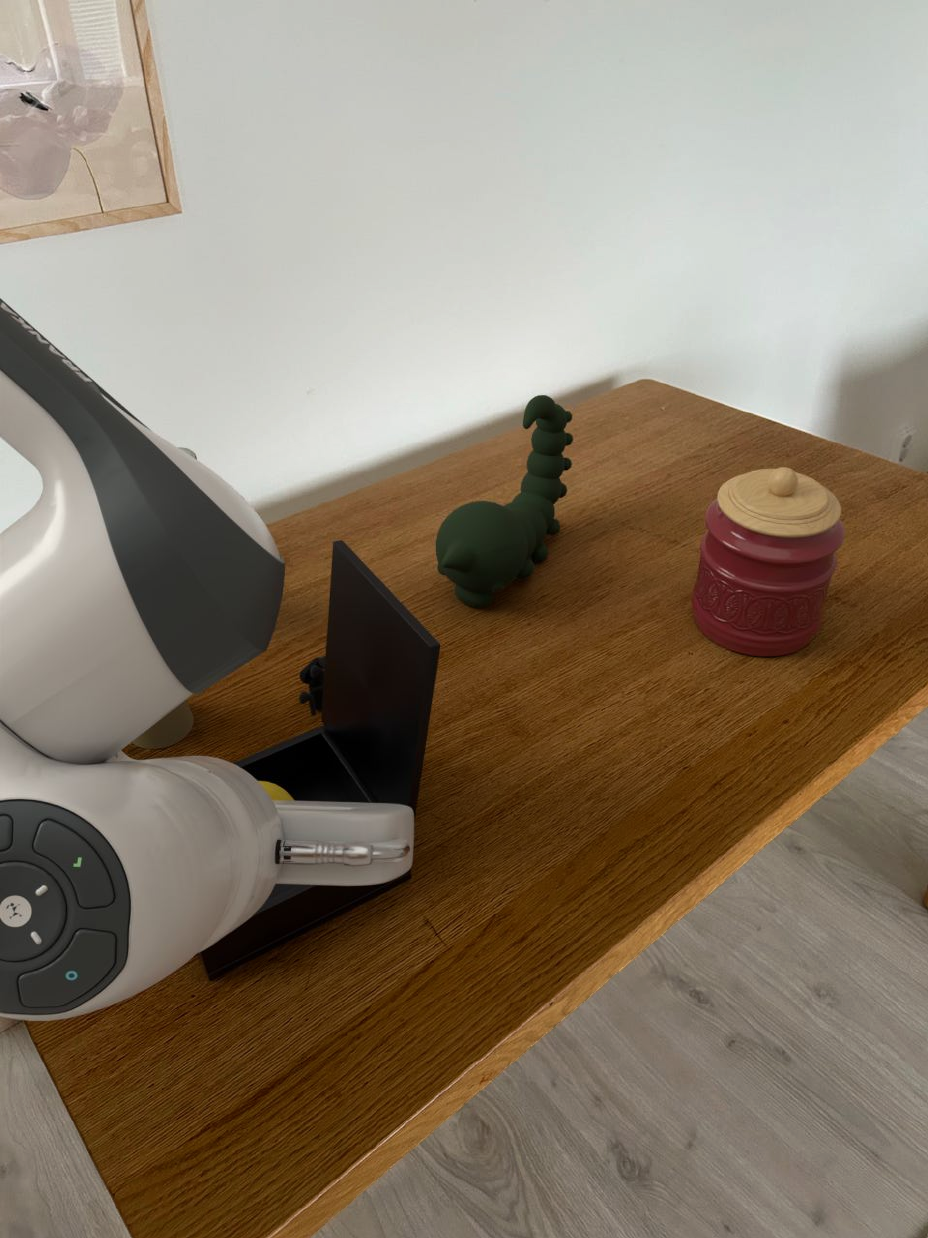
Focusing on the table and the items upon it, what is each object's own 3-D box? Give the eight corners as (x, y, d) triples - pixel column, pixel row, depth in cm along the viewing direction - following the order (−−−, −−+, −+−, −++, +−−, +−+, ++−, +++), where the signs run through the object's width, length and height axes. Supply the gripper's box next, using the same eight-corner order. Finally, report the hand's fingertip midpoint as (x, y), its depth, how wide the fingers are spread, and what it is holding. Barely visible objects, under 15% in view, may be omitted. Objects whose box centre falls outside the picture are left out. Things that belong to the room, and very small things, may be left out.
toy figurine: (513, 523, 119) (402, 621, 101) (523, 372, 109) (401, 451, 90) (584, 544, 115) (482, 649, 97) (601, 390, 105) (491, 476, 87)
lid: (430, 646, 64) (441, 644, 64) (332, 541, 73) (342, 539, 74) (404, 837, 73) (413, 834, 74) (320, 721, 83) (329, 718, 83)
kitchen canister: (719, 668, 95) (750, 515, 84) (670, 590, 105) (692, 444, 94) (842, 649, 97) (887, 497, 86) (783, 574, 107) (816, 429, 96)
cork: (132, 757, 87) (102, 664, 80) (122, 714, 92) (92, 622, 85) (200, 736, 89) (176, 644, 82) (186, 695, 94) (162, 604, 87)
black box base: (209, 982, 70) (197, 943, 67) (146, 843, 80) (133, 804, 77) (412, 878, 77) (408, 839, 74) (331, 762, 86) (325, 723, 83)
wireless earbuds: (309, 728, 90) (303, 687, 87) (287, 718, 91) (280, 678, 88) (354, 683, 95) (349, 643, 91) (333, 674, 96) (327, 634, 92)
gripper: (404, 788, 46) (430, 775, 60) (-17, 777, 47) (102, 766, 61) (400, 926, 45) (427, 881, 59) (-28, 911, 47) (96, 870, 60)
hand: (259, 823), depth 60 cm, fingers closed on lemon, 5 cm apart
